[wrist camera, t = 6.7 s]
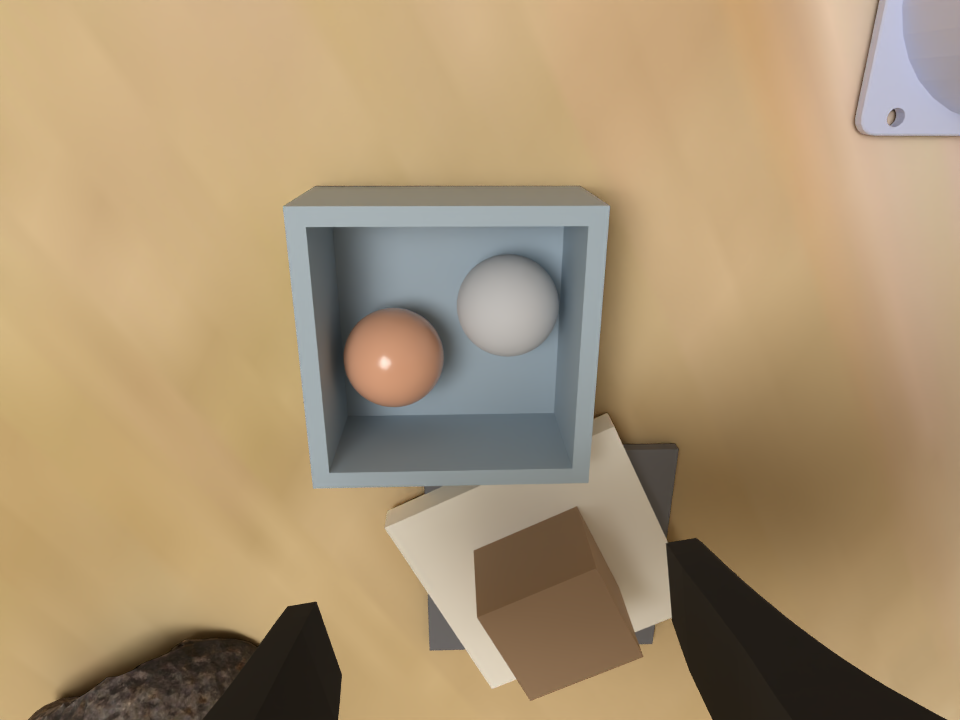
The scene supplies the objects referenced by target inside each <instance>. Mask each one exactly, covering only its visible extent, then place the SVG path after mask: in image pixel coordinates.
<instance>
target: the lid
mask: <svg viewBox="0 0 960 720" xmlns="http://www.w3.org/2000/svg"><path fill="white" fill-rule="evenodd" d="M385 530H386V531H387V533H388V534H389V536H390V537H391V539H392V540H393V541H394V543H395V544H396V546H397V547H398V549H399V550H400V552H401V553H402V555H403V556H404V558H405V559H406V561H407V562H408V564H409V565H410V567H411V568H412V570H413V571H414V573H415V574H416V576H417V577H418V579H419V580H420V582H421V583H422V585H423V586H424V588H425V589H426V591H427V592H428V594H429V595H430V597H431V598H432V600H433V601H434V603H435V604H436V606H437V607H438V609H439V610H440V612H441V613H442V615H443V616H444V618H445V619H446V621H447V622H448V624H449V625H450V627H451V628H452V630H453V631H454V633H455V634H456V636H457V637H458V639H459V640H460V642H461V643H462V645H463V646H464V648H465V649H466V651H467V652H468V654H469V655H470V657H471V658H472V660H473V661H474V663H475V664H476V666H477V667H478V669H479V670H480V672H481V673H482V675H483V676H484V678H485V679H486V681H487V682H488V684H489V685H490V687H491V688H492V689H493V688H496V687H498V686H501V685H503V684H506V683H508V682H511V681H513V680H516V679H517V681H518V682H519V684H520V685H521V687H522V689H523V690H524V692H525V693H526V695H527V696H528V698H529V699H530V701H531V700H534V699H536V698H539V697H542V696H544V695H547V694H549V693H552V692H554V691H557V690H560V689H562V688H565V687H567V686H570V685H572V684H575V683H577V682H580V681H583V680H585V679H588V678H590V677H593V676H595V675H598V674H600V673H603V672H606V671H608V670H611V669H613V668H616V667H618V666H621V665H624V664H626V663H629V662H631V661H634V660H636V659H639V658H641V657H643V655H642V652H641V649H640V646H639V643H638V640H637V638H636V635H635V632H637V631H640V630H642V629H645V628H647V627H650V626H652V625H655V624H657V623H660V622H662V621H665V620H667V619H670V618H672V614H671V602H670V589H669V577H668V564H667V552H666V543H668V541H667V539H666V537H665V535H664V533H663V531H662V529H661V526H660V524H659V522H658V520H657V518H656V516H655V513H654V511H653V509H652V507H651V505H650V503H649V500H648V498H647V496H646V494H645V492H644V490H643V488H642V485H641V483H640V481H639V479H638V477H637V475H636V472H635V470H634V468H633V466H632V464H631V462H630V459H629V457H628V455H627V453H626V451H625V449H624V447H623V444H622V442H621V440H620V438H619V436H618V434H617V431H616V429H615V427H614V425H613V423H612V421H611V419H610V417H609V415H608V413H606V414H603V415H601V416H599V417H597V418H595V419H593V430H592V443H591V456H590V469H589V482H588V483H564V484H512V485H461V486H442V487H440V488H438V489H435V490H433V491H431V492H429V493H426V494H424V495H422V496H420V497H418V498H415V499H413V500H411V501H409V502H406V503H404V504H402V505H400V506H397V507H395V508H393V509H391V510H388V511H387V515H386V522H385Z"/></svg>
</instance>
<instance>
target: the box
mask: <svg viewBox="0 0 960 720" xmlns="http://www.w3.org/2000/svg"><path fill="white" fill-rule="evenodd" d="M283 212H284V221H285V231H286V240H287V249H288V259H289V268H290V277H291V286H292V296H293V305H294V314H295V324H296V333H297V342H298V352H299V361H300V370H301V380H302V389H303V398H304V407H305V417H306V426H307V435H308V445H309V454H310V463H311V473H312V482H313V488H358V487H409V486H461V485H512V484H564V483H588V482H589V469H590V456H591V443H592V430H593V418H594V405H595V392H596V379H597V366H598V353H599V341H600V328H601V315H602V302H603V289H604V277H605V264H606V251H607V238H608V225H609V212H610V205H608V204H607V203H605V202H603V201H602V200H600V199H599V198H597V197H596V196H594V195H593V194H591V193H590V192H588V191H587V190H585V189H584V188H582V187H581V186H315V187H313V188H311V189H310V190H308V191H307V192H305V193H303V194H302V195H300V196H299V197H297V198H295V199H294V200H292V201H291V202H289V203H288V204H286V205H284V206H283ZM502 254H514V255H519V256H523V257H526V258H529V259H531V260H533V261H534V262H536V263H537V264H539V265H540V266H541V267H542V268H543V269H544V270H545V271H546V272H547V273H548V274H549V275H550V277H551V279H552V280H553V282H554V284H555V287H556V290H557V293H558V299H559V311H558V317H557V321H556V324H555V326H554V328H553V330H552V332H551V333H550V335H549V336H548V337H547V339H546V340H545V341H544V342H543V343H542V344H541V345H539V346H538V347H537V348H535V349H534V350H532V351H530V352H528V353H525V354H522V355H518V356H510V357H506V356H498V355H494V354H490V353H488V352H486V351H484V350H482V349H480V348H479V347H477V346H476V345H475V344H474V343H473V342H472V341H471V340H470V339H469V338H468V337H467V335H466V334H465V333H464V331H463V329H462V327H461V324H460V322H459V318H458V314H457V298H458V293H459V289H460V286H461V284H462V282H463V280H464V279H465V277H466V276H467V274H468V273H469V272H470V271H471V270H472V269H473V268H474V267H475V266H476V265H477V264H479V263H480V262H482V261H483V260H485V259H487V258H490V257H493V256H497V255H502ZM385 308H402V309H407V310H410V311H413V312H415V313H417V314H419V315H421V316H422V317H424V318H425V319H426V320H427V321H428V322H429V323H430V324H431V325H432V326H433V327H434V329H435V330H436V331H437V333H438V335H439V337H440V339H441V342H442V346H443V351H444V364H443V369H442V373H441V376H440V378H439V380H438V382H437V384H436V385H435V386H434V388H433V389H432V390H431V391H430V392H429V393H428V394H427V395H426V396H425V397H424V398H422V399H421V400H419V401H417V402H415V403H413V404H410V405H407V406H402V407H385V406H381V405H377V404H375V403H372V402H370V401H369V400H367V399H365V398H364V397H363V396H361V395H360V394H359V393H358V392H357V391H356V390H355V389H354V387H353V386H352V384H351V383H350V381H349V379H348V377H347V375H346V371H345V367H344V360H343V354H344V347H345V344H346V340H347V338H348V336H349V334H350V332H351V331H352V329H353V328H354V326H355V325H356V324H357V323H358V322H359V321H360V320H361V319H362V318H364V317H365V316H367V315H368V314H370V313H372V312H374V311H377V310H380V309H385Z"/></svg>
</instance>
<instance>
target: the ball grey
mask: <svg viewBox="0 0 960 720" xmlns="http://www.w3.org/2000/svg"><path fill="white" fill-rule="evenodd" d="M558 311H559V299H558V293H557V290H556V287H555V284H554V282H553V280H552V279H551V277H550V275H549V274H548V273H547V272H546V271H545V270H544V269H543V268H542V267H541V266H540V265H539V264H537V263H536V262H534V261H533V260H531V259H529V258H526V257H523V256H519V255H514V254H502V255H497V256H493V257H490V258H487V259H485V260H483V261H482V262H480V263H479V264H477V265H476V266H475V267H474V268H473V269H472V270H471V271H470V272H469V273H468V274H467V276H466V277H465V279H464V280H463V282H462V284H461V286H460V289H459V293H458V298H457V314H458V318H459V322H460V324H461V327H462V329H463V331H464V333H465V334H466V335H467V337H468V338H469V339H470V340H471V341H472V342H473V343H474V344H475V345H476V346H477V347H479V348H480V349H482V350H484V351H486V352H488V353H490V354H494V355H498V356H506V357H510V356H518V355H522V354H525V353H528V352H530V351H532V350H534V349H535V348H537V347H538V346H539V345H541V344H542V343H543V342H544V341H545V340H546V339H547V337H548V336H549V335H550V333H551V332H552V330H553V328H554V326H555V324H556V321H557V317H558Z"/></svg>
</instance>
